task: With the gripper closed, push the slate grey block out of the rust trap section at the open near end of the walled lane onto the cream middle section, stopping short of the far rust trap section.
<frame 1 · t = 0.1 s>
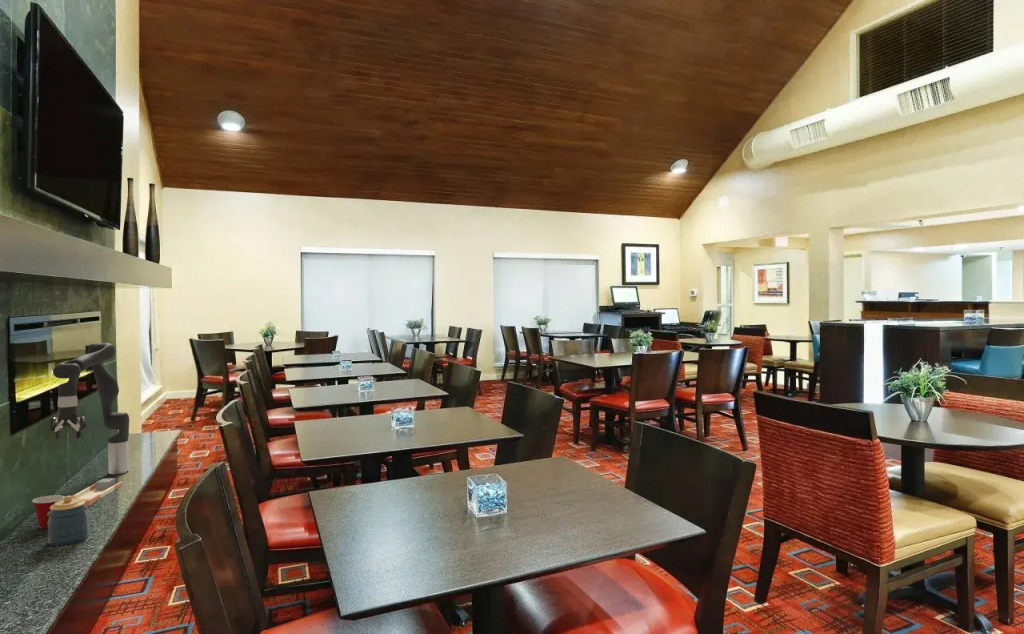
hand: (68, 438, 279), 29 cm above the table, tool pointing down, fingers open, 8 cm apart
slate block: (105, 488, 294), point 1 cm above the table, touching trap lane
canister: (68, 540, 232), on the table
plastic cup: (49, 526, 246), on the table
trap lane: (94, 495, 284), on the table
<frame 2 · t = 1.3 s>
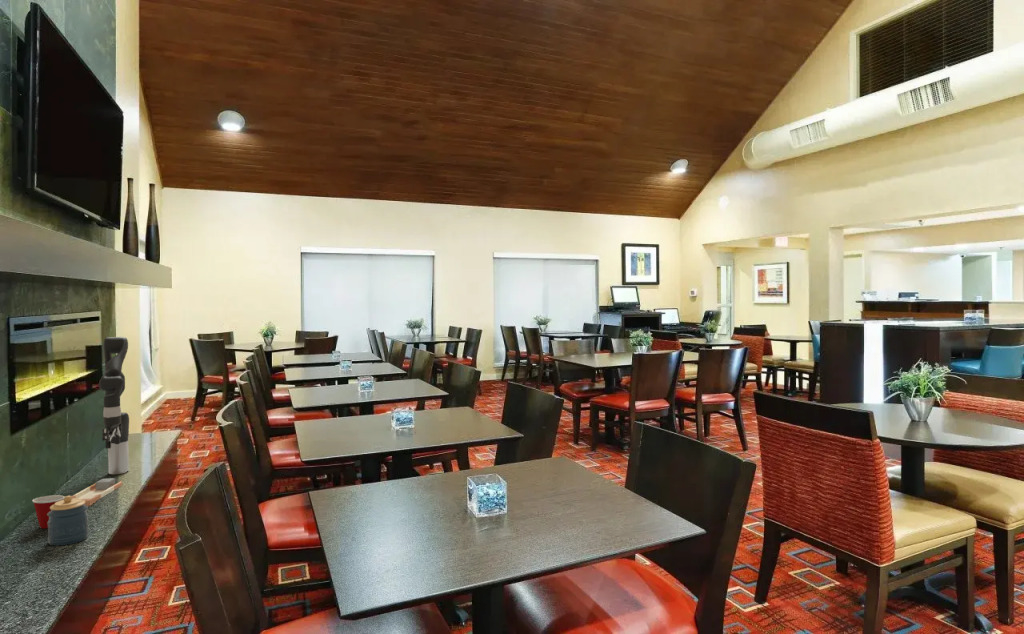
hand: (112, 446, 302), 20 cm above the table, tool pointing down, fingers open, 8 cm apart
nothing on the table moved.
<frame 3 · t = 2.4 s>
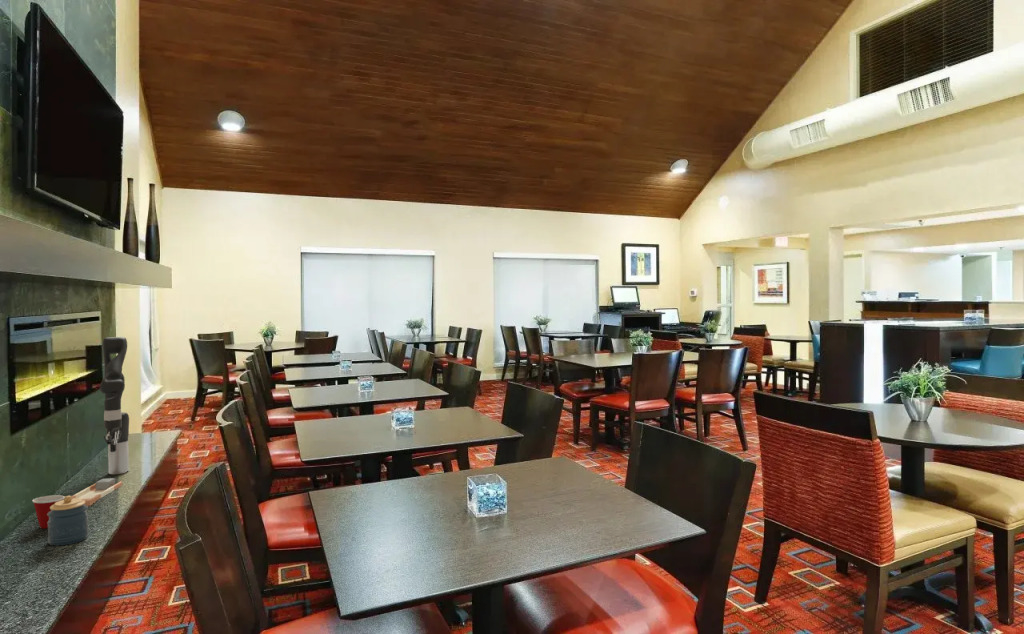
hand: (113, 451, 302), 17 cm above the table, tool pointing down, fingers closed
nothing on the table moved.
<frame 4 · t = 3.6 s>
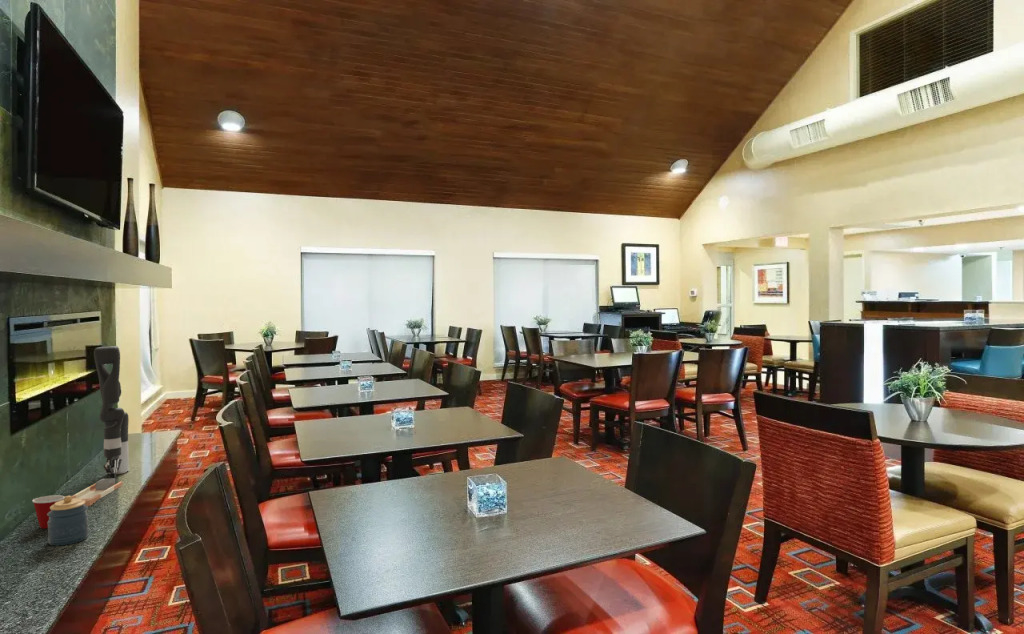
hand: (113, 480, 302), 2 cm above the table, tool pointing down, fingers closed
nothing on the table moved.
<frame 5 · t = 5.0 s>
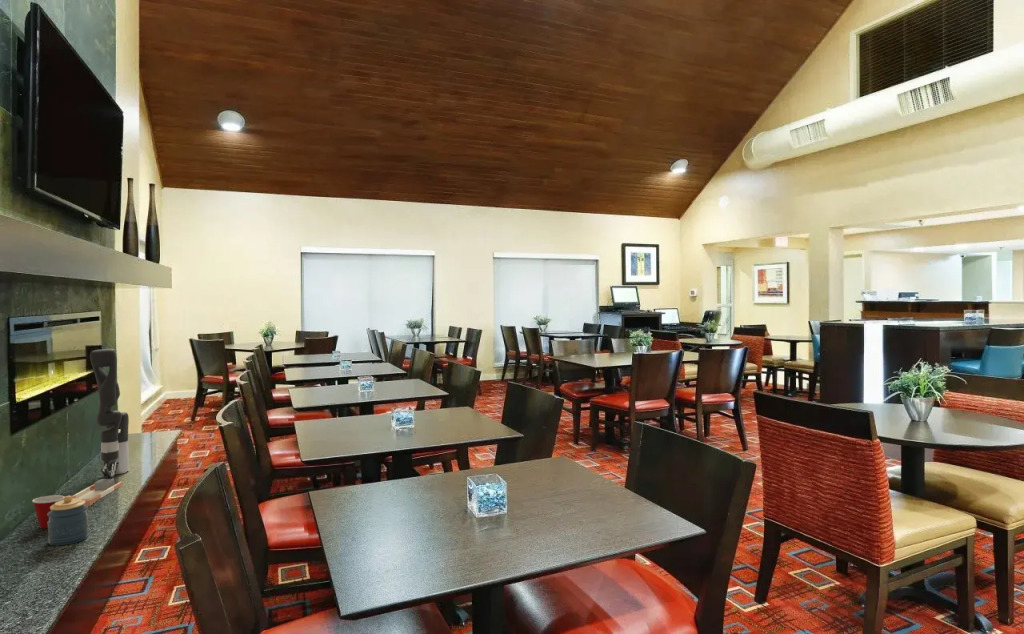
hand: (110, 483, 299), 2 cm above the table, tool pointing down, fingers closed
slate block: (104, 488, 294), point 1 cm above the table, touching gripper
everything else where it was.
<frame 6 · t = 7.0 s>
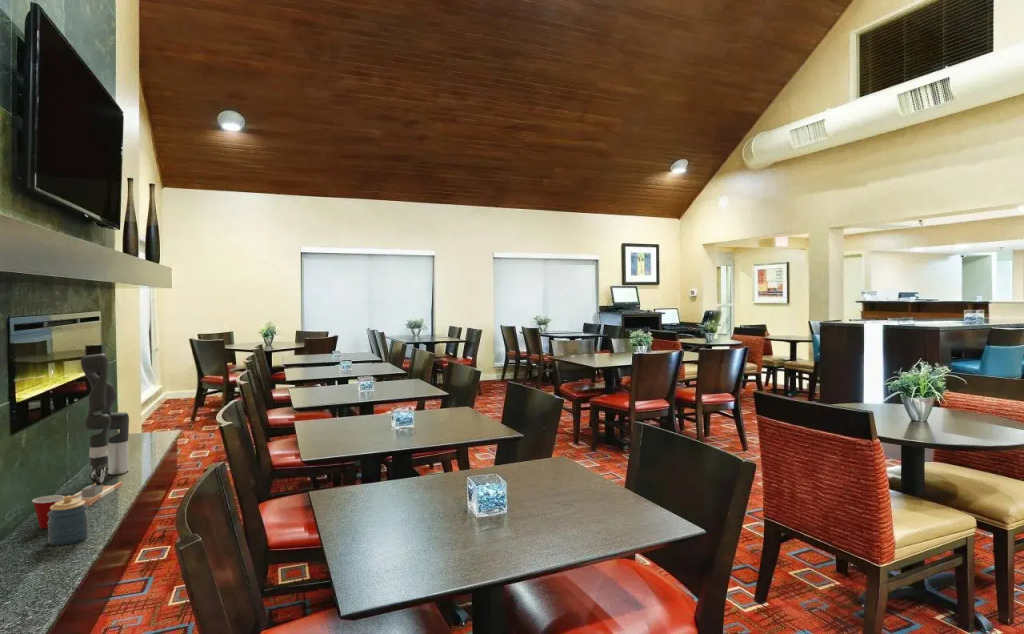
hand: (99, 489, 289), 2 cm above the table, tool pointing down, fingers closed
slate block: (92, 495, 284), point 1 cm above the table, touching gripper, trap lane
everything else where it was.
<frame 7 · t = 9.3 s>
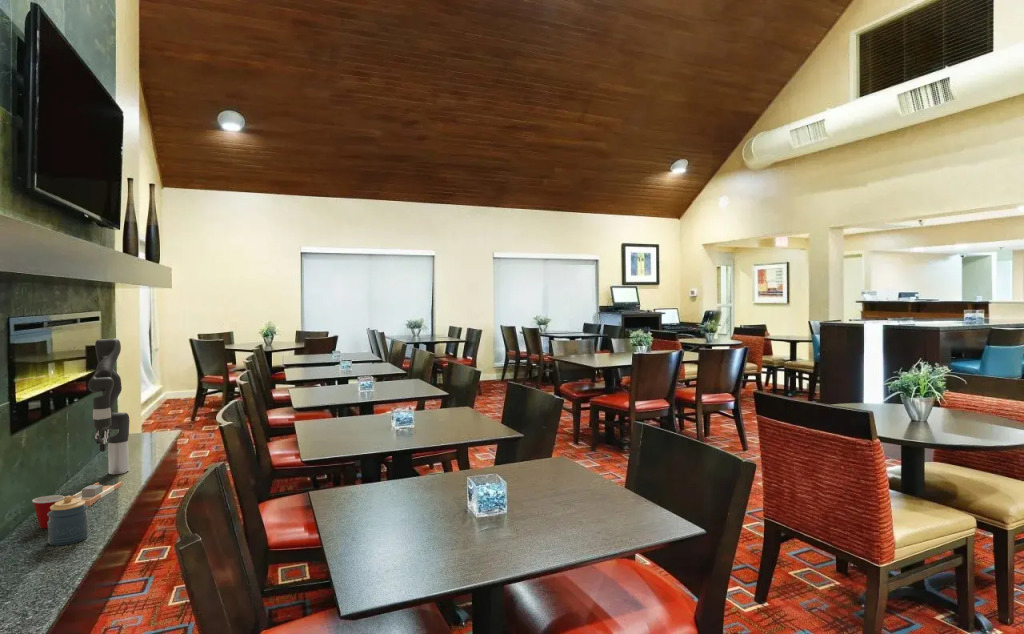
hand: (103, 451, 293), 20 cm above the table, tool pointing down, fingers closed
slate block: (92, 495, 284), point 1 cm above the table, touching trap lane
everything else where it was.
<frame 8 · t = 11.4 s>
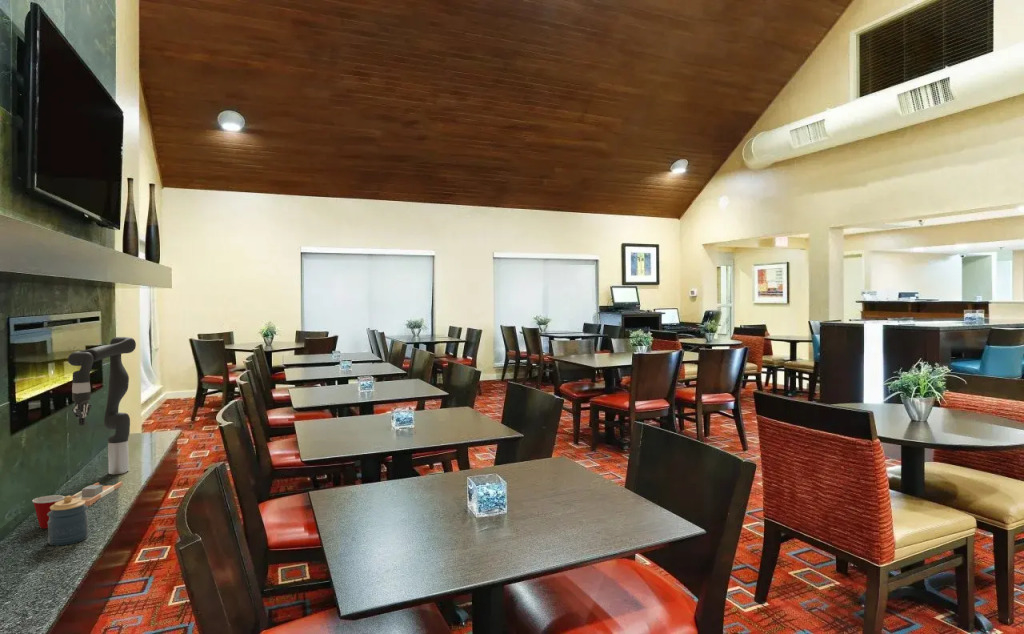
hand: (82, 425, 297), 32 cm above the table, tool pointing down, fingers closed
nothing on the table moved.
at the end: slate block 1.0 cm from the target spot, point 0.6 cm above the table; slate block tilted 0°; the gripper is holding nothing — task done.
